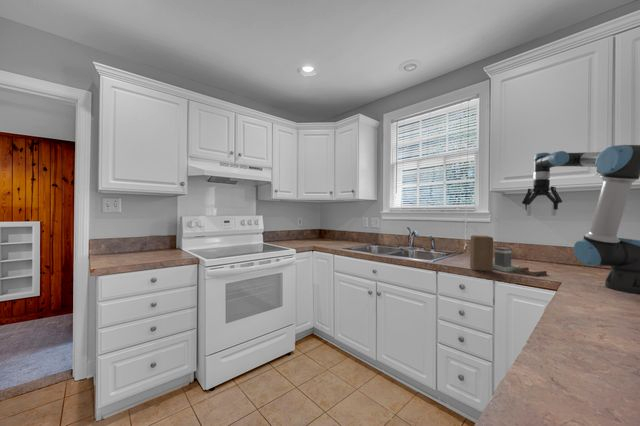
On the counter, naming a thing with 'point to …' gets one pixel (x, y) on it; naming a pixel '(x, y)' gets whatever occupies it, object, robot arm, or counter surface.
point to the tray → (505, 268)
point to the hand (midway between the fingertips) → (540, 215)
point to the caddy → (503, 257)
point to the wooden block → (481, 253)
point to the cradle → (526, 271)
